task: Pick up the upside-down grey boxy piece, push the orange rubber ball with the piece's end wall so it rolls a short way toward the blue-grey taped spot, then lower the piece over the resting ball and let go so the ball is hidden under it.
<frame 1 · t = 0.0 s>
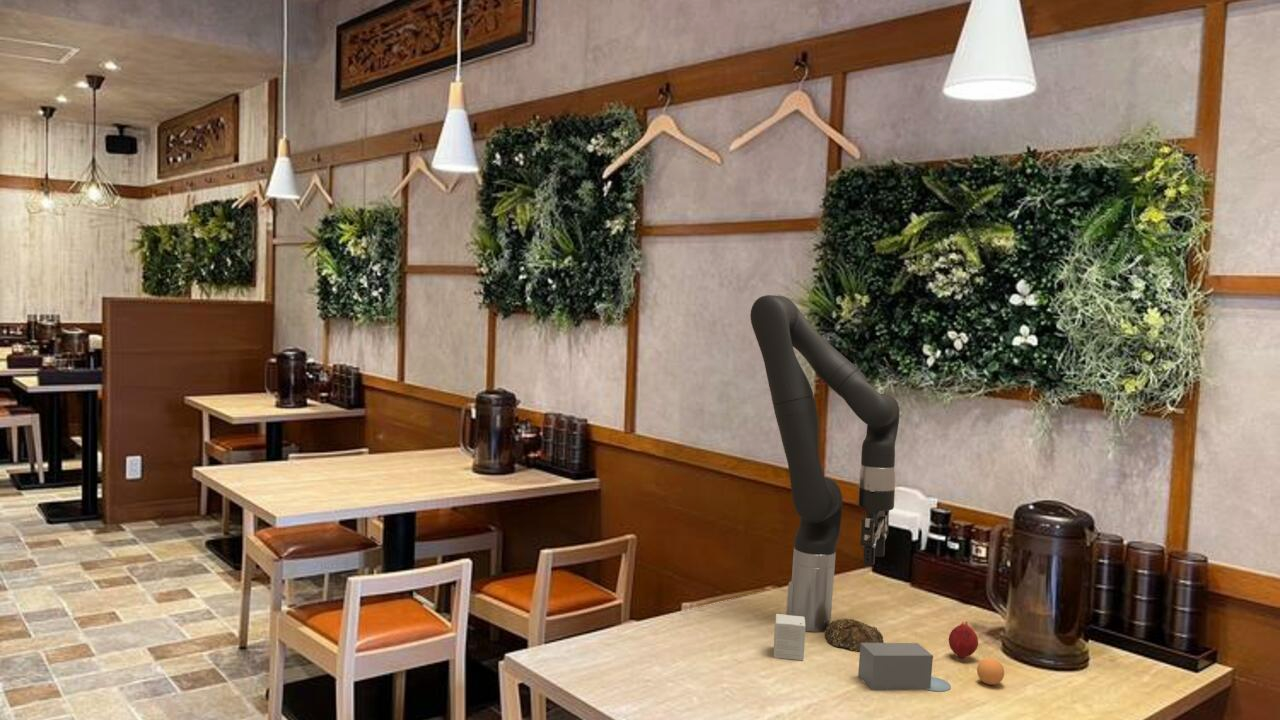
hand: (873, 560, 208), 17 cm above the table, tool pointing down, fingers open, 8 cm apart
ball: (990, 671, 187), on the table
spot: (931, 684, 185), on the table
bread roll: (852, 643, 206), on the table
onion: (961, 659, 200), on the table
grey boxy piece: (893, 682, 184), on the table
product box: (788, 655, 196), on the table
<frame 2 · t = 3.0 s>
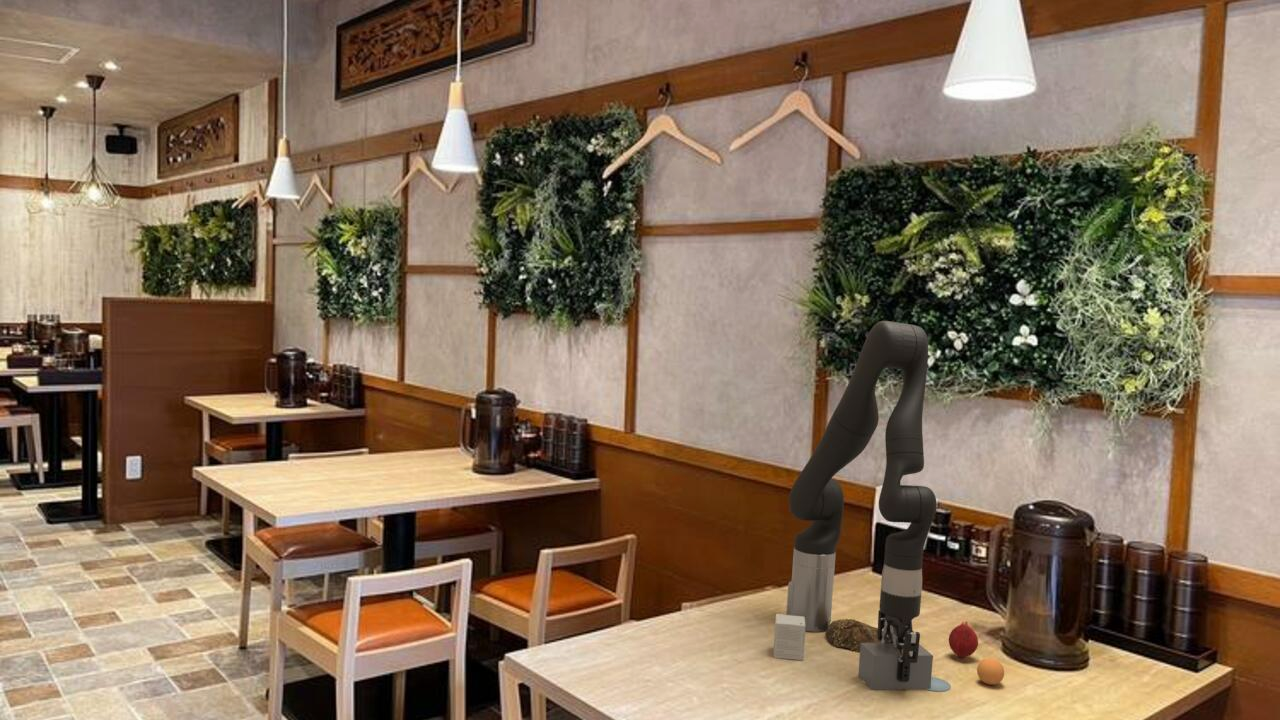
hand: (894, 673, 184), 2 cm above the table, tool pointing down, fingers closed on grey boxy piece, 6 cm apart
grey boxy piece: (893, 682, 184), on the table, touching gripper
everything else where it was.
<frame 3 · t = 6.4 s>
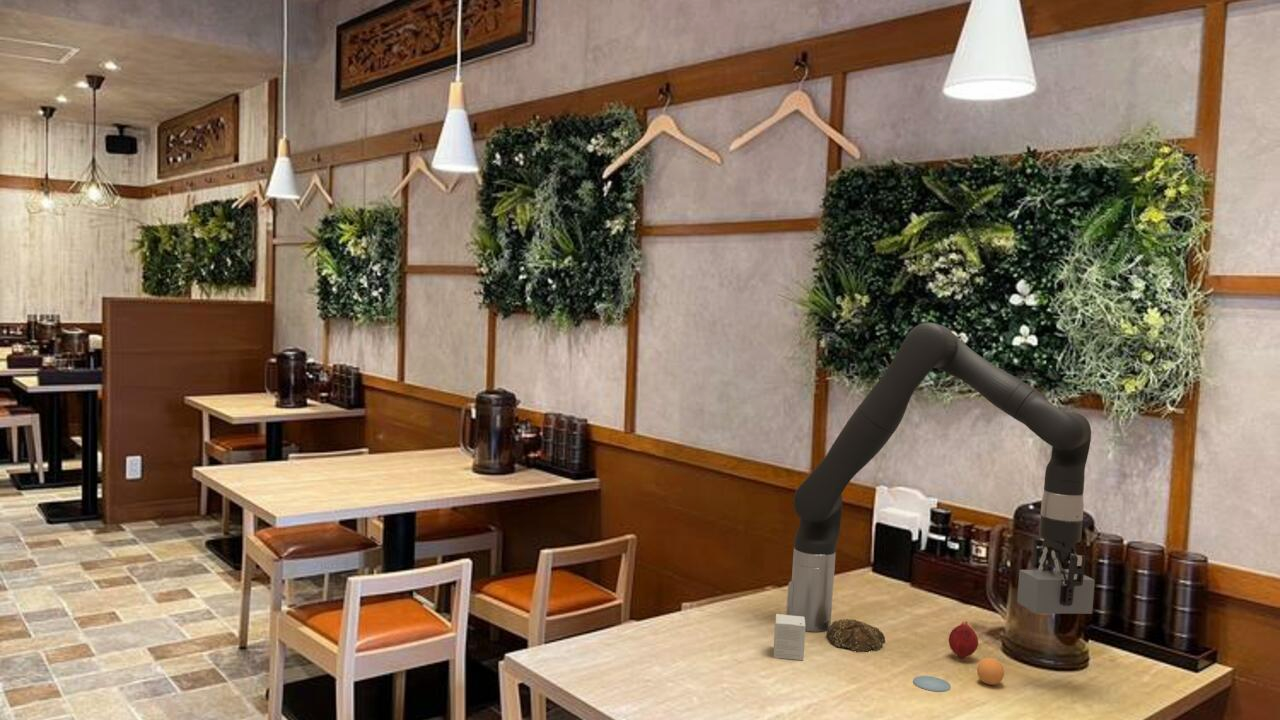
hand: (1054, 598, 187), 17 cm above the table, tool pointing down, fingers closed on grey boxy piece, 6 cm apart
grey boxy piece: (1054, 608, 187), point 15 cm above the table, touching gripper
everything else where it was.
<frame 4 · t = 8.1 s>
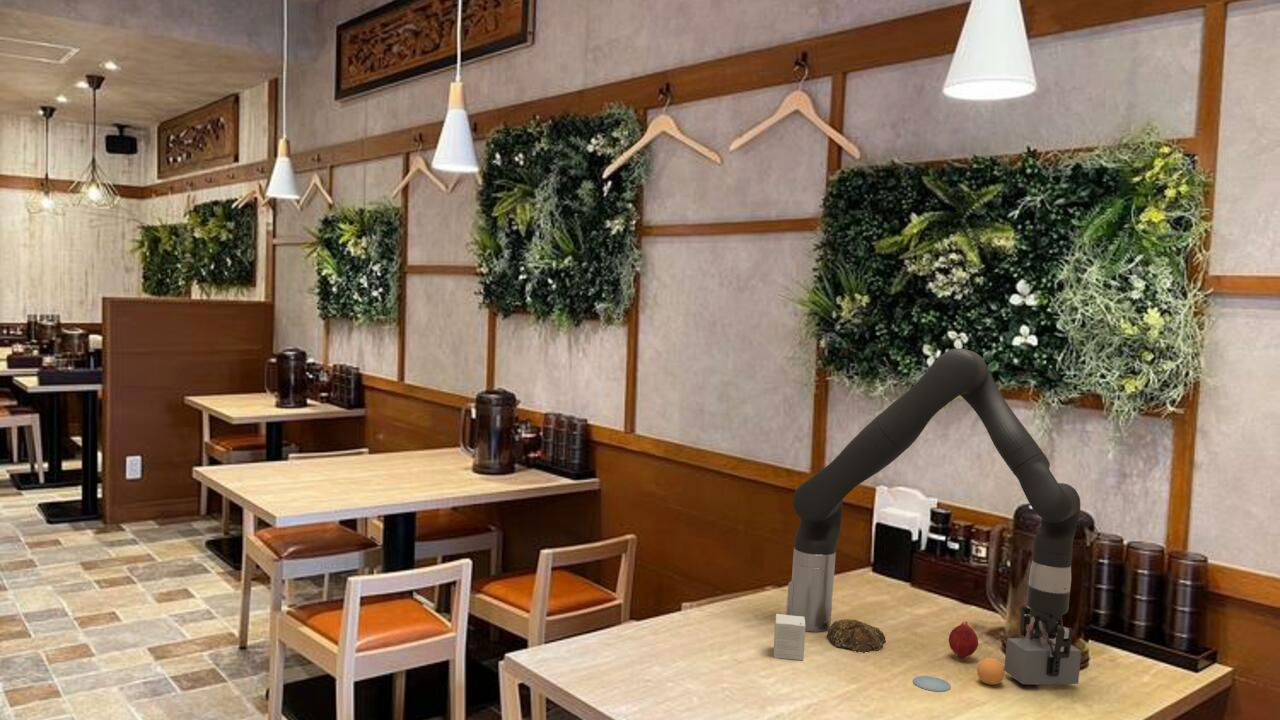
hand: (1041, 668, 189), 3 cm above the table, tool pointing down, fingers closed on grey boxy piece, 6 cm apart
grey boxy piece: (1040, 677, 189), point 1 cm above the table, touching gripper
everything else where it was.
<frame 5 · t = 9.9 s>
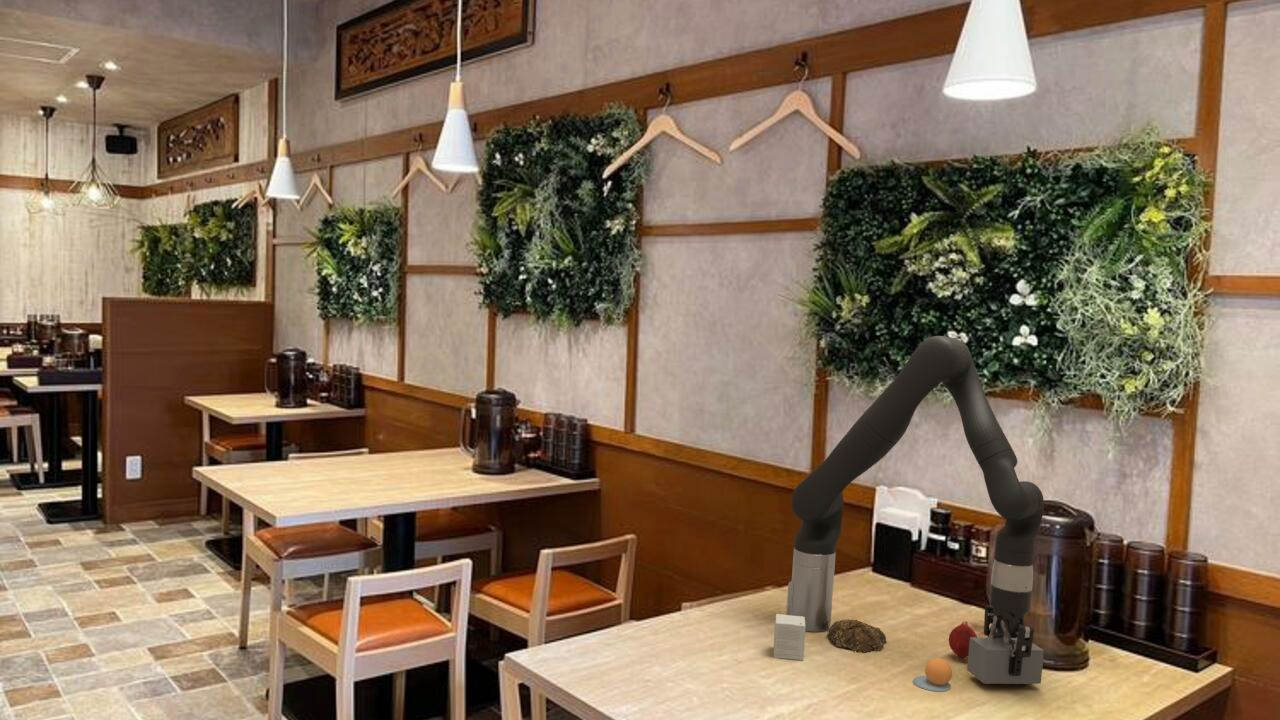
hand: (1004, 667, 187), 3 cm above the table, tool pointing down, fingers closed on grey boxy piece, 6 cm apart
ball: (938, 671, 185), on the table
grey boxy piece: (1003, 676, 187), point 1 cm above the table, touching gripper
everything else where it was.
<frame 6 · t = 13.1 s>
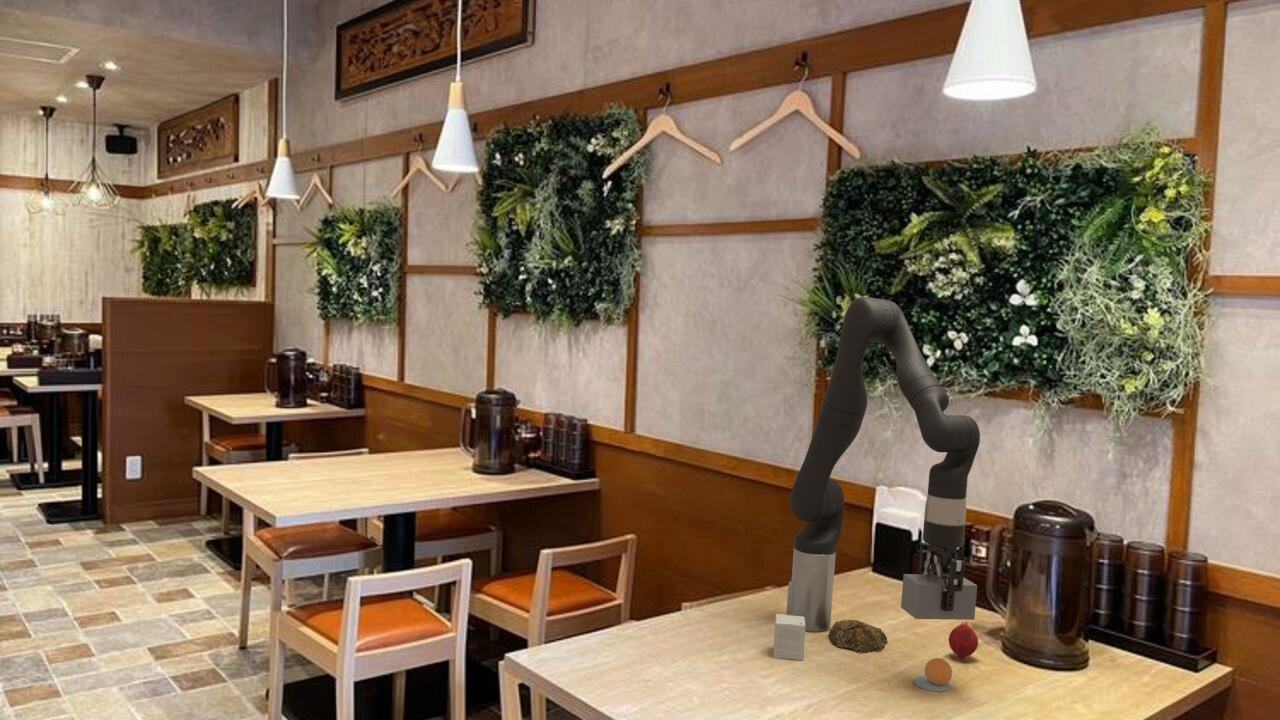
hand: (937, 604, 184), 16 cm above the table, tool pointing down, fingers closed on grey boxy piece, 6 cm apart
grey boxy piece: (937, 613, 184), point 14 cm above the table, touching gripper
everything else where it was.
when the fingers open (2 cm above the table, at t = 16.1 s): grey boxy piece stays where it is, on the table.
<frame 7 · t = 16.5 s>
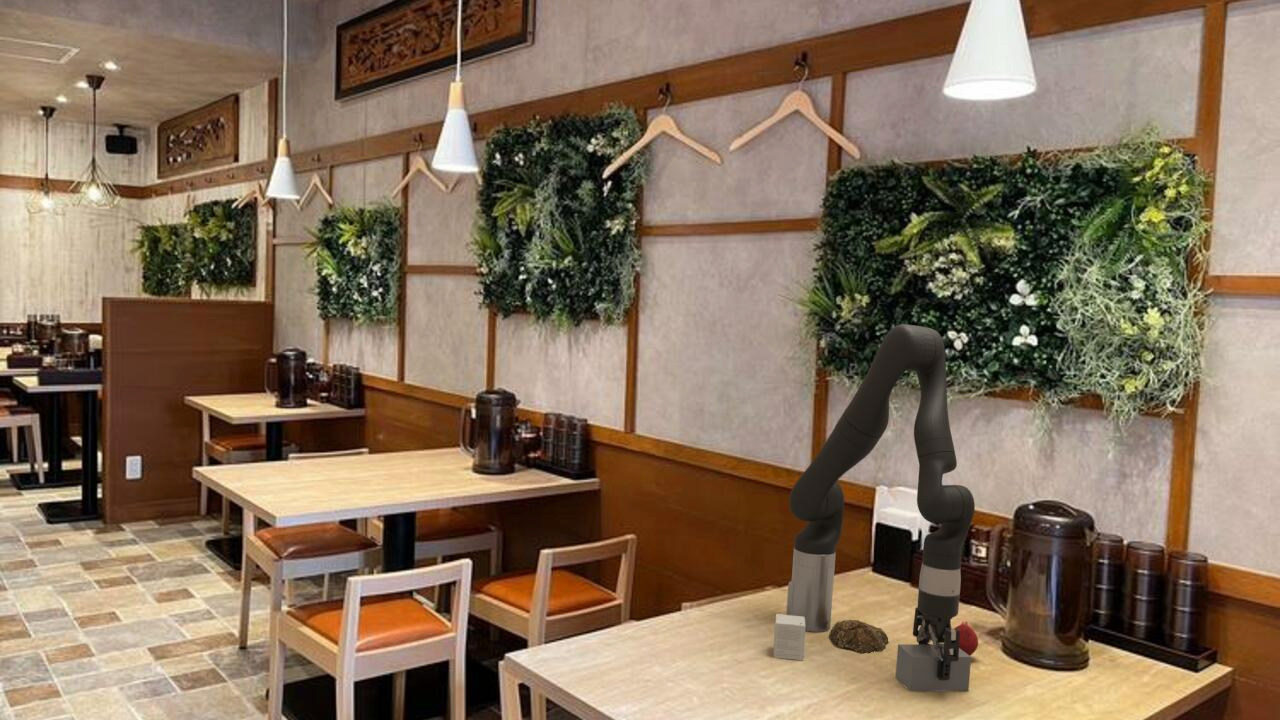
hand: (932, 670, 185), 3 cm above the table, tool pointing down, fingers open, 8 cm apart
grey boxy piece: (931, 684, 185), on the table
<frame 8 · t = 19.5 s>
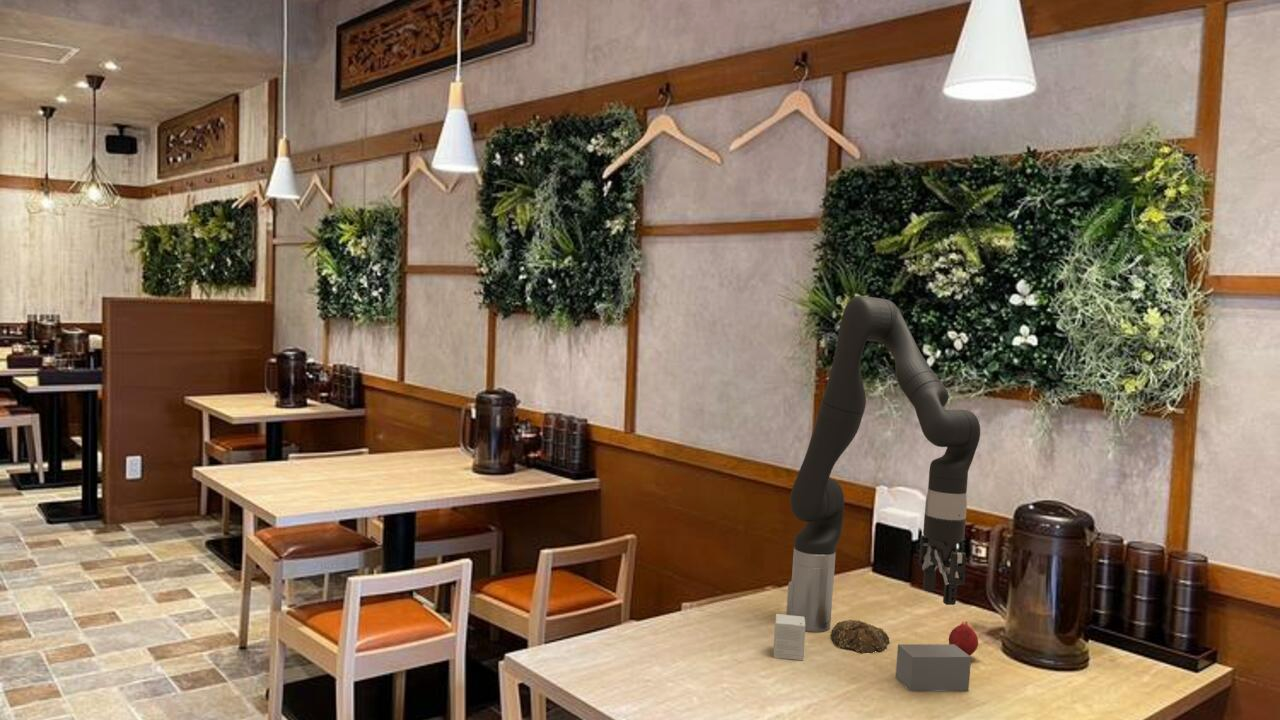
hand: (938, 597, 184), 17 cm above the table, tool pointing down, fingers open, 8 cm apart
at the end: ball 1.2 cm from the grey boxy piece (horizontally); grey boxy piece on the table; ball moved 10.9 cm from its start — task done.
